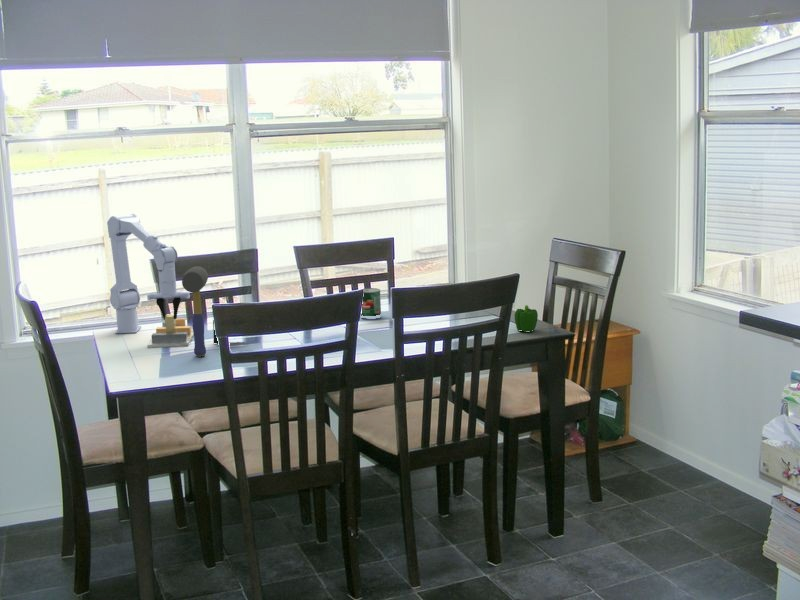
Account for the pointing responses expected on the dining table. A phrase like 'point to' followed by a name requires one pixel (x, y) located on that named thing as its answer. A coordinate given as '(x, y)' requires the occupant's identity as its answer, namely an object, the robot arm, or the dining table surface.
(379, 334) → the dining table surface
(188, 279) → the rubber mallet
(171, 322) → the brass block
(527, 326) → the bell pepper
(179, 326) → the sliding jaw
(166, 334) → the gray rectangular tray
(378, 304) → the canned tomato
